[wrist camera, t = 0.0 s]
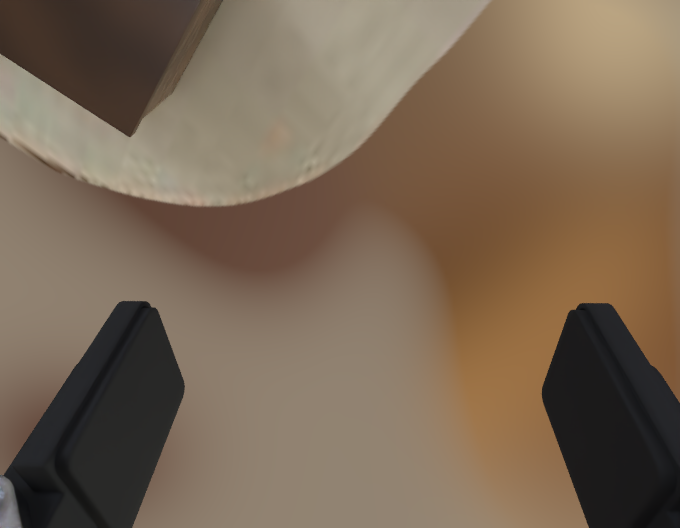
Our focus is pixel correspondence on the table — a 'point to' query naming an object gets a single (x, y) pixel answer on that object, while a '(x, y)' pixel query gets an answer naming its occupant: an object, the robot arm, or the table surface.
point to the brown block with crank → (106, 49)
